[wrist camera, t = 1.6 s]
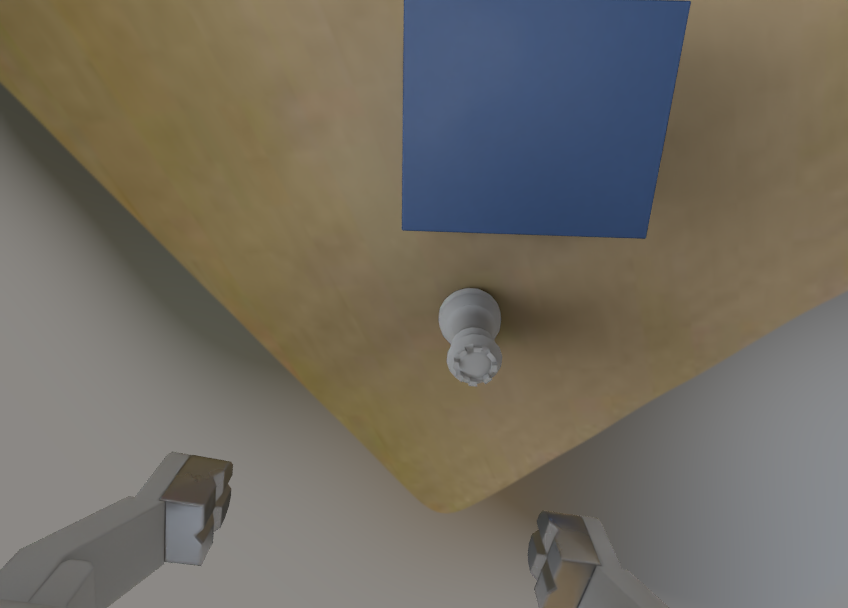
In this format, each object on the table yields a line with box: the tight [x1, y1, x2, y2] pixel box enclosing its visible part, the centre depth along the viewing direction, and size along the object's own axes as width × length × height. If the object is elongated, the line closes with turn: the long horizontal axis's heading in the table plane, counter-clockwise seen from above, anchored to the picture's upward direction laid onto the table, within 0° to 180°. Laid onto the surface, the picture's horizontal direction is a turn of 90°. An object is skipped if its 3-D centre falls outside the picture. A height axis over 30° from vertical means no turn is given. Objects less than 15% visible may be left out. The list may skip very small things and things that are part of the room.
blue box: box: [402, 0, 691, 239], centre depth 27 cm, size 13×11×8 cm
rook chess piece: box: [439, 288, 502, 386], centre depth 31 cm, size 4×4×8 cm
